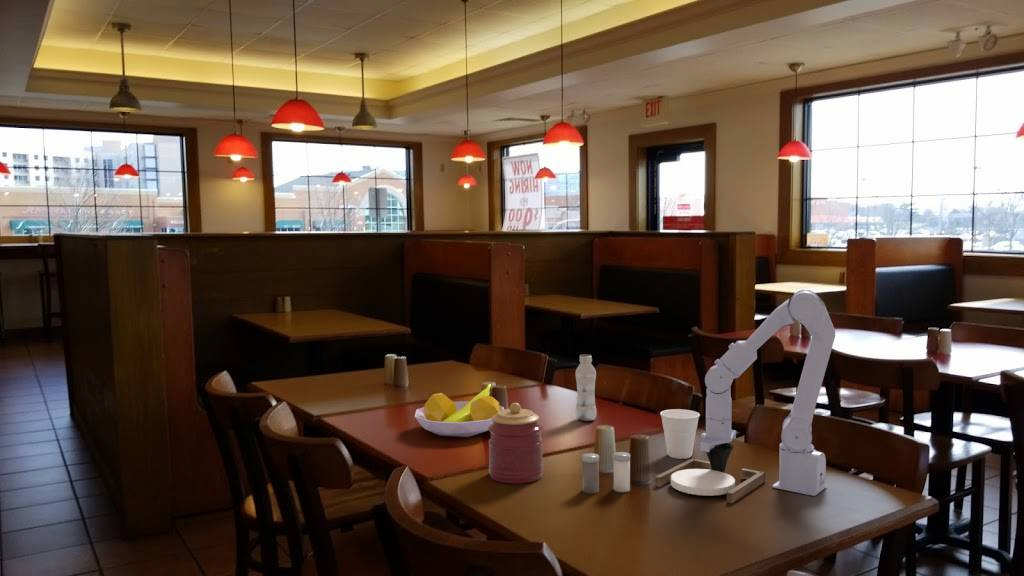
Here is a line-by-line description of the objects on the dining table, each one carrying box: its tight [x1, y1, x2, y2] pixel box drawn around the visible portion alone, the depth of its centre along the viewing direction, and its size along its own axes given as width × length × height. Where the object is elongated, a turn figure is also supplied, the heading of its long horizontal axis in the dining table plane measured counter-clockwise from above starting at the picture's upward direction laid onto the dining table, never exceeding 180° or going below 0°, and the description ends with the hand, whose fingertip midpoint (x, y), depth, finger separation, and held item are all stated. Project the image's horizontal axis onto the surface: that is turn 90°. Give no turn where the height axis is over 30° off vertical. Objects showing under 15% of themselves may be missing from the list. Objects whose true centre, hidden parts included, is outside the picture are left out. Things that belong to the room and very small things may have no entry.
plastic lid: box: [670, 469, 736, 497], centre depth 175 cm, size 14×14×2 cm
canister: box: [488, 402, 544, 485], centre depth 186 cm, size 13×13×18 cm
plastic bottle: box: [575, 354, 598, 422], centre depth 238 cm, size 6×7×20 cm
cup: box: [659, 408, 701, 460], centre depth 200 cm, size 10×10×11 cm
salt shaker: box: [612, 451, 631, 493], centre depth 175 cm, size 4×4×8 cm
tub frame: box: [654, 457, 766, 504], centre depth 178 cm, size 18×18×2 cm
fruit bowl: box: [414, 383, 505, 438], centre depth 228 cm, size 28×27×11 cm
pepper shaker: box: [581, 452, 600, 495], centre depth 175 cm, size 4×4×8 cm
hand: (718, 475), depth 181 cm, fingers closed
